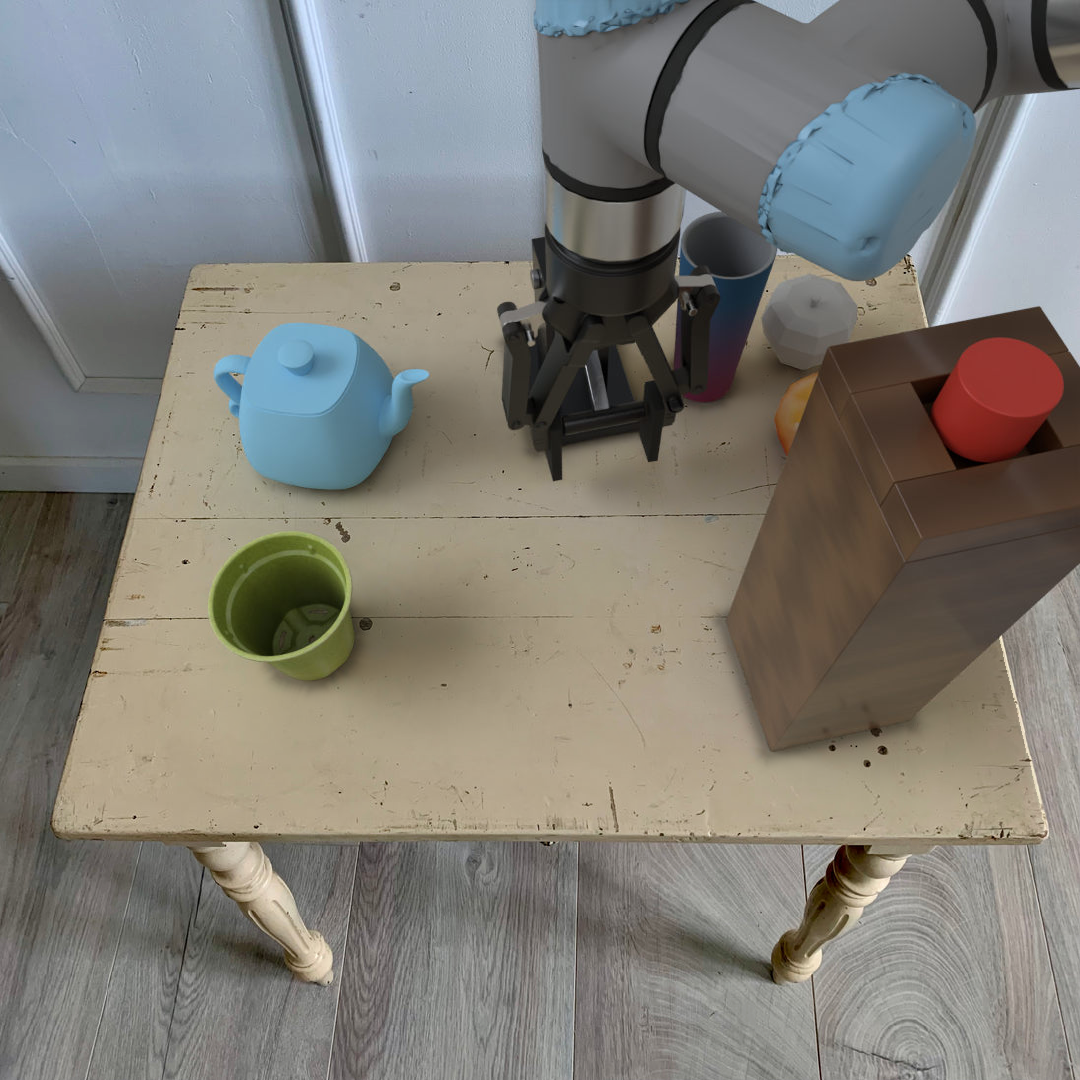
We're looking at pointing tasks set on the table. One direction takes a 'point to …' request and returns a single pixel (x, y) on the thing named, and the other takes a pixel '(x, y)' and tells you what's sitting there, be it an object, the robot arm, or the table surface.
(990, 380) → the button
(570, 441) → the bracket
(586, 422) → the lever
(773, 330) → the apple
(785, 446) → the fruit
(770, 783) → the table surface
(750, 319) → the cup
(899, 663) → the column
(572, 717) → the table surface
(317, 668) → the plant pot
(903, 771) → the table surface
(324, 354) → the teapot
